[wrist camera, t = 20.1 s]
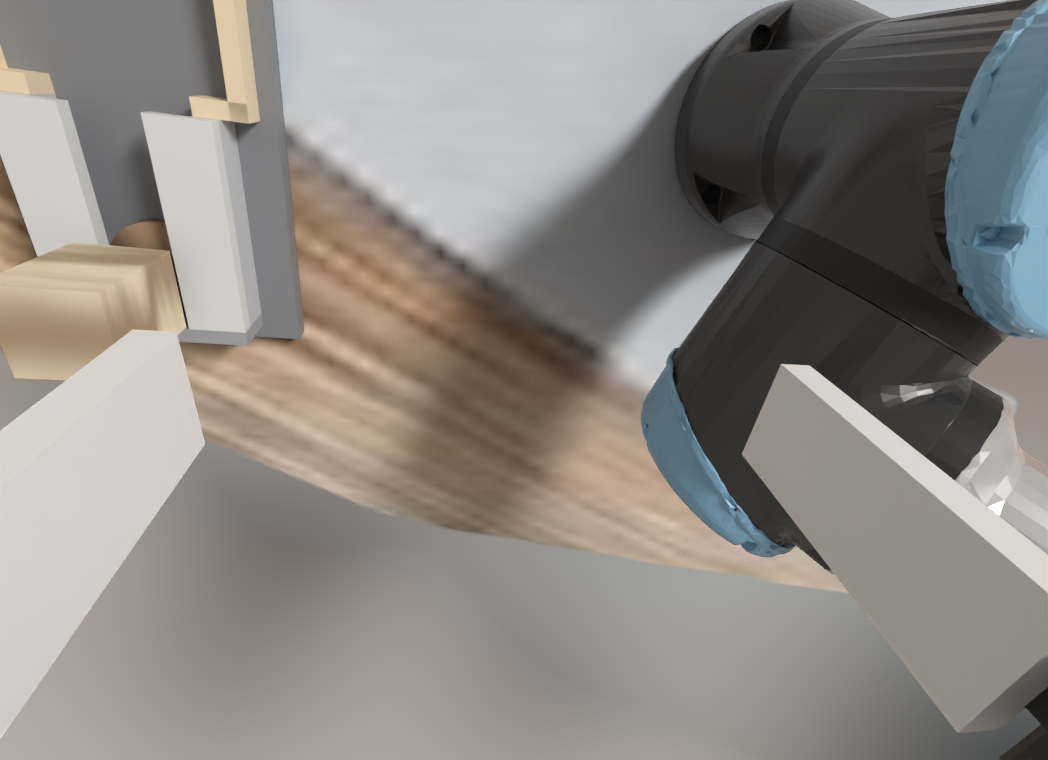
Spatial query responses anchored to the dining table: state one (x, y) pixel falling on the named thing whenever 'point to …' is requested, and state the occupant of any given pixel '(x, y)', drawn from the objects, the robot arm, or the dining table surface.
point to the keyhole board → (162, 82)
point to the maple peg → (87, 300)
